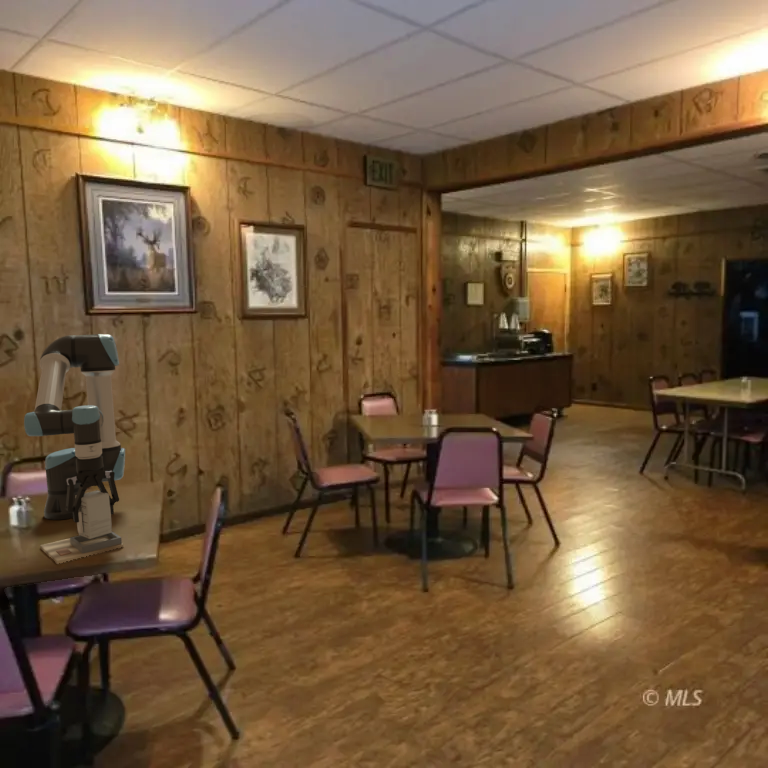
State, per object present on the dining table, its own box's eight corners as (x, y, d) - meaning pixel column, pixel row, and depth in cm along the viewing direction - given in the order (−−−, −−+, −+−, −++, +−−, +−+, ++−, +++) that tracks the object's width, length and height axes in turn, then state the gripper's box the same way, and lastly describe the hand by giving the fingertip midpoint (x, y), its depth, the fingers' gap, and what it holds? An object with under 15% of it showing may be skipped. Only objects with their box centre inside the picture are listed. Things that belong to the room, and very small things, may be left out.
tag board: (40, 548, 202) (40, 544, 201) (103, 533, 214) (103, 529, 214) (57, 564, 188) (57, 559, 188) (123, 547, 201) (123, 543, 201)
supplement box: (100, 528, 206) (97, 489, 205) (112, 532, 201) (109, 493, 200) (77, 534, 201) (74, 494, 199) (89, 539, 196) (86, 498, 194)
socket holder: (70, 543, 202) (69, 537, 202) (108, 534, 210) (108, 528, 209) (82, 553, 193) (81, 547, 193) (121, 543, 201) (121, 537, 201)
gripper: (56, 464, 189) (62, 539, 191) (127, 452, 202) (132, 523, 205) (49, 460, 194) (55, 533, 197) (119, 449, 208) (124, 518, 210)
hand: (94, 528), depth 201 cm, fingers closed on supplement box, 8 cm apart
